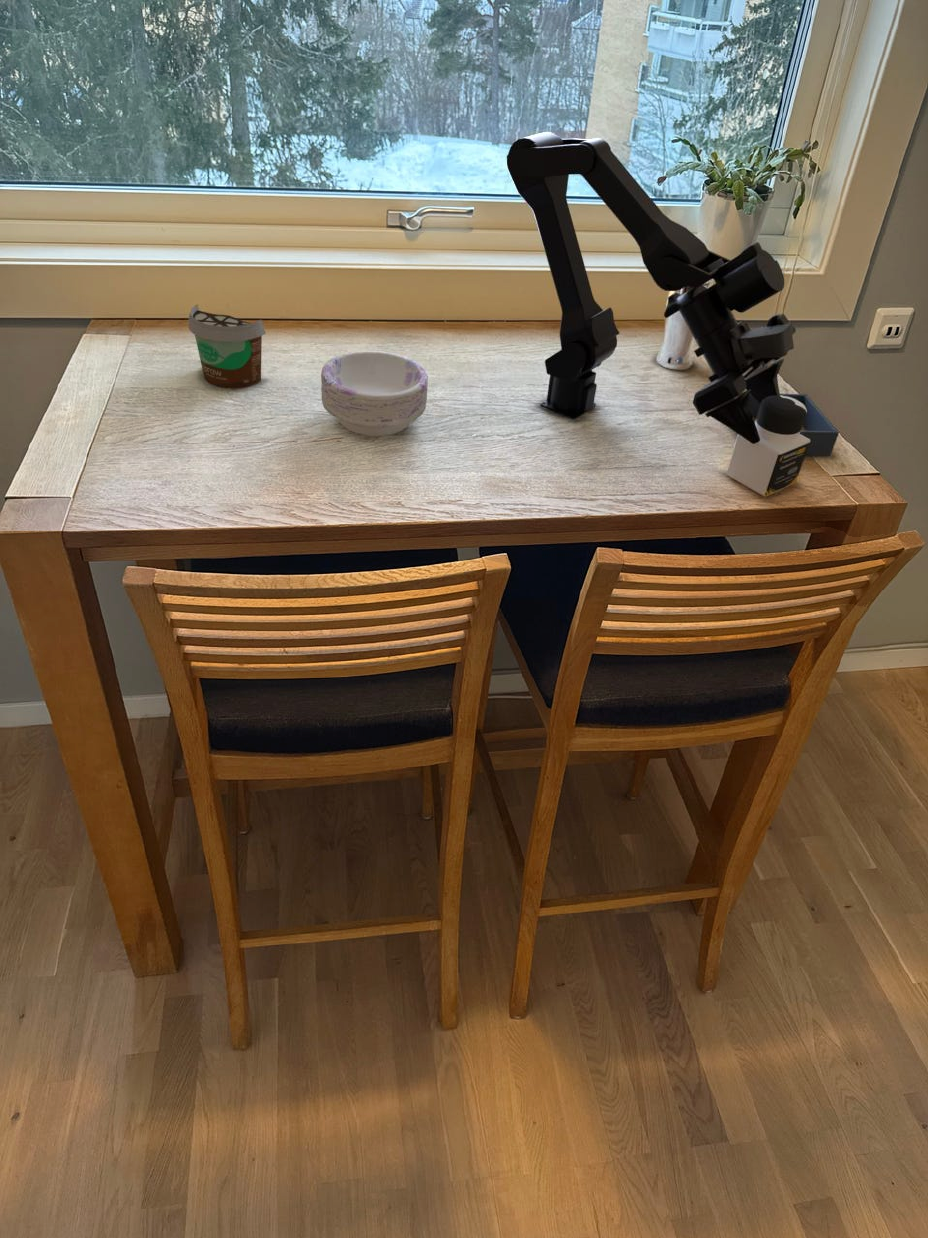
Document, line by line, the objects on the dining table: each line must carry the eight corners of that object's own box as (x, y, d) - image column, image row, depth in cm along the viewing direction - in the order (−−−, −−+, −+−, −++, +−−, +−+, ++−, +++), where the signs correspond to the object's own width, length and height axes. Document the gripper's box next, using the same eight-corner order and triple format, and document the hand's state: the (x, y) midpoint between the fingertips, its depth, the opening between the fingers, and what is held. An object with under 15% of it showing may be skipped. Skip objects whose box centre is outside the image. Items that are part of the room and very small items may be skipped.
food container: (178, 380, 139) (169, 316, 132) (202, 365, 143) (194, 303, 137) (247, 398, 136) (241, 334, 129) (269, 382, 140) (264, 320, 134)
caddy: (751, 455, 133) (758, 431, 131) (724, 415, 142) (731, 392, 140) (830, 456, 135) (839, 432, 132) (798, 416, 144) (806, 393, 141)
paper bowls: (446, 430, 132) (449, 380, 127) (358, 457, 125) (357, 404, 120) (389, 389, 141) (389, 341, 136) (303, 412, 134) (300, 361, 129)
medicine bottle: (764, 498, 124) (791, 419, 116) (724, 474, 128) (747, 397, 120) (796, 484, 128) (823, 406, 120) (756, 461, 132) (780, 385, 124)
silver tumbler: (693, 373, 154) (715, 285, 144) (653, 367, 155) (671, 279, 145) (694, 357, 159) (715, 271, 150) (654, 351, 160) (673, 265, 150)
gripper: (740, 319, 109) (799, 431, 112) (792, 280, 121) (844, 382, 124) (667, 360, 117) (723, 464, 120) (722, 320, 129) (772, 415, 132)
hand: (768, 430), depth 124 cm, fingers open, 9 cm apart
